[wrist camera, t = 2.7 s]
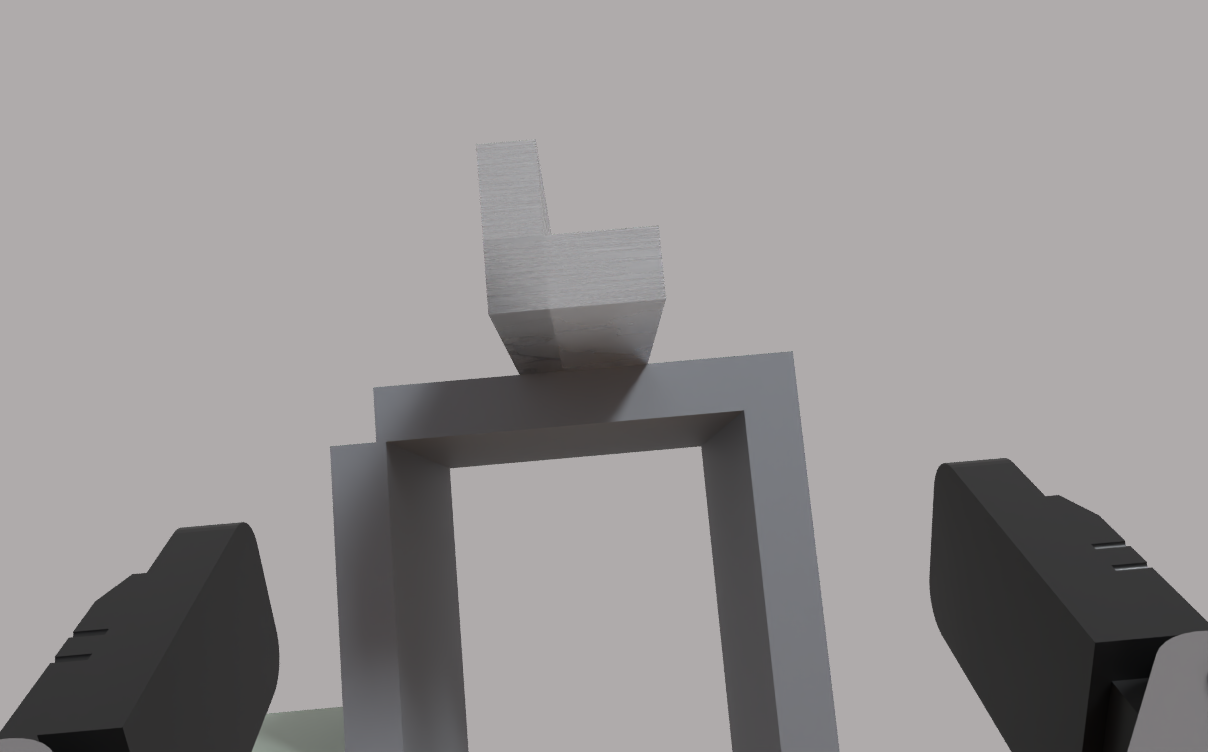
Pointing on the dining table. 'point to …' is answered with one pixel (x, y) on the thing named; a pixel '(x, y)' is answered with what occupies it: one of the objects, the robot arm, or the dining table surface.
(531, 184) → the bracket
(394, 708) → the step stand
